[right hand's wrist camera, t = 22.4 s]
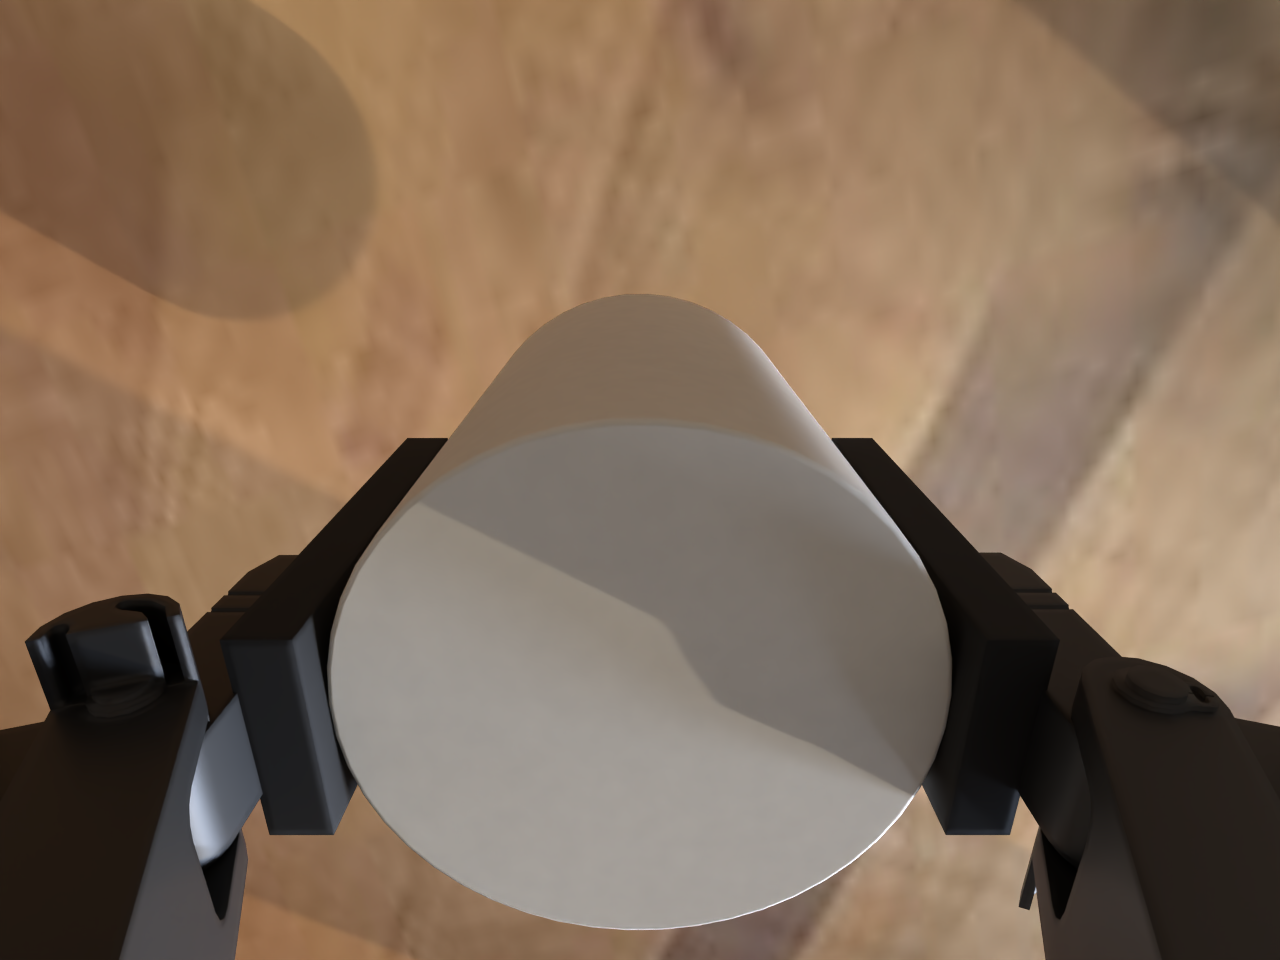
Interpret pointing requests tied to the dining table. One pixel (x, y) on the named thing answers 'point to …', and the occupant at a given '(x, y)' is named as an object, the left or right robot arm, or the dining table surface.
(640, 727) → the canister
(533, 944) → the dining table surface
